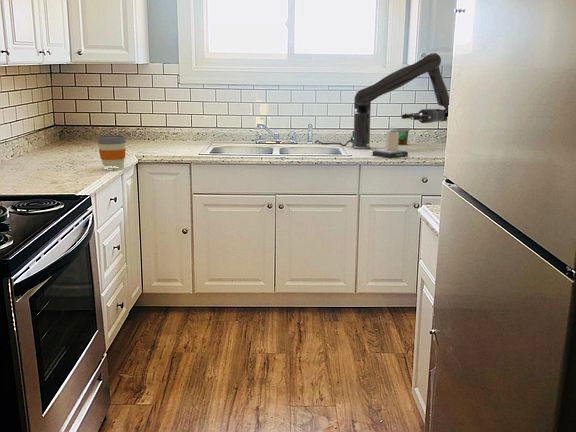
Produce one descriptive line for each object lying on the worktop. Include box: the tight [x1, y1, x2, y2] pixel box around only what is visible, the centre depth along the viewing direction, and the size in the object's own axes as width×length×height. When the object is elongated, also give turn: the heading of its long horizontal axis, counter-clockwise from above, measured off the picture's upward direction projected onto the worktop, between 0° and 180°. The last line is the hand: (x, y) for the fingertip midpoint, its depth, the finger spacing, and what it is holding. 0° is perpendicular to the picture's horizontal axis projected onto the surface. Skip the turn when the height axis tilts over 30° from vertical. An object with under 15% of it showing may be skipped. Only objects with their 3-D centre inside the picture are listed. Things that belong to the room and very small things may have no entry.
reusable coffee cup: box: [97, 134, 127, 171], centre depth 287 cm, size 13×12×15 cm
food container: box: [389, 126, 411, 146], centre depth 369 cm, size 12×6×10 cm, turn 62°
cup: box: [385, 131, 399, 151], centre depth 324 cm, size 6×6×9 cm
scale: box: [371, 147, 409, 159], centre depth 324 cm, size 13×13×3 cm
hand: (408, 117), depth 329 cm, fingers open, 8 cm apart
